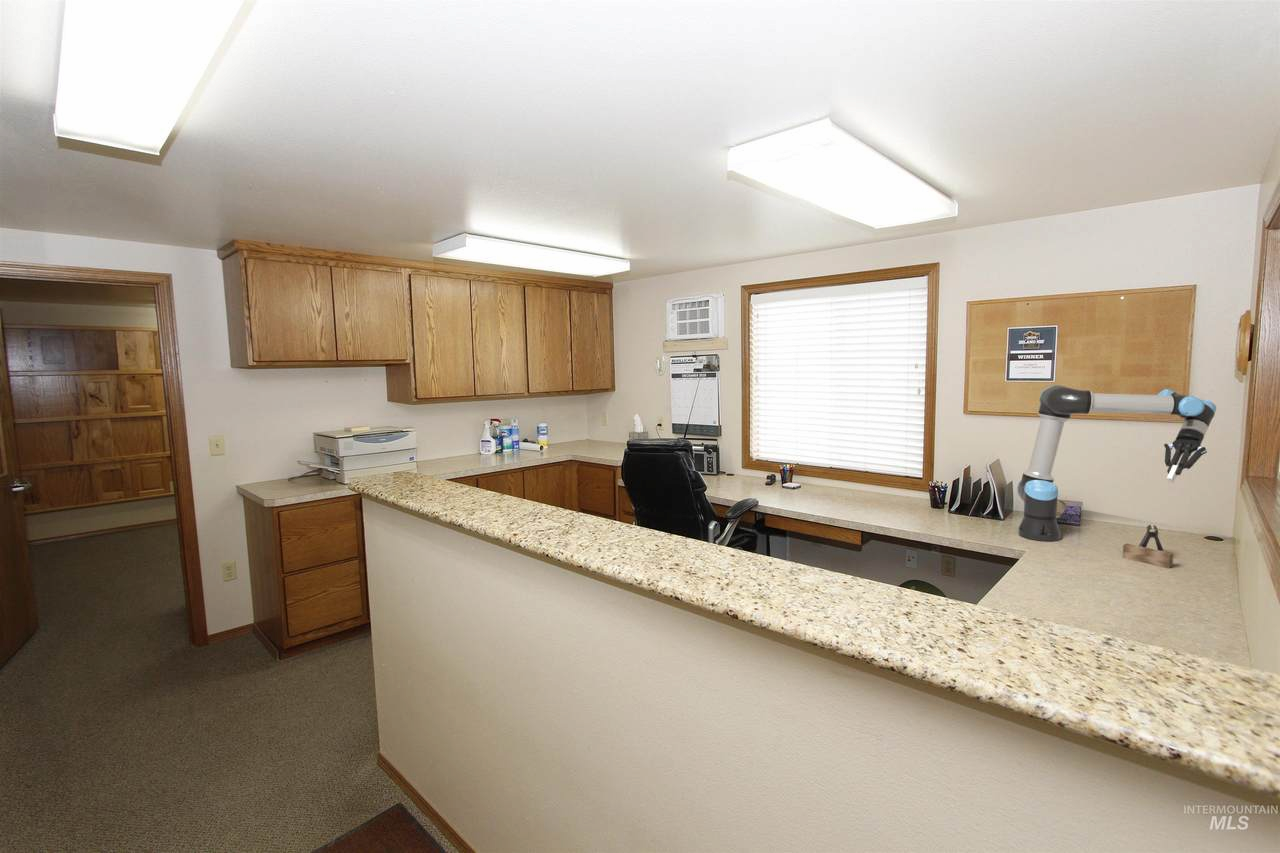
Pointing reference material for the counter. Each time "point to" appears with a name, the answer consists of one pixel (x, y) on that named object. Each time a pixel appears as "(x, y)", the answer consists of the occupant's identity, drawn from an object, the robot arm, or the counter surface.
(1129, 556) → the block
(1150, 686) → the counter surface
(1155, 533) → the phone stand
